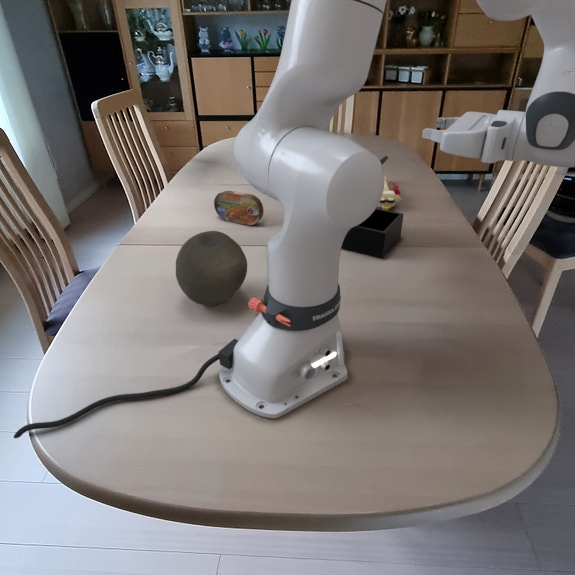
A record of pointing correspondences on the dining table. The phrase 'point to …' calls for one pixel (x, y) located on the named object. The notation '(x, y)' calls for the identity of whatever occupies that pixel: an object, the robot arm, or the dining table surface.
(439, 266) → the dining table surface
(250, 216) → the tin
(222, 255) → the dark brown ball
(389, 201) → the cat figure
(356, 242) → the bin
